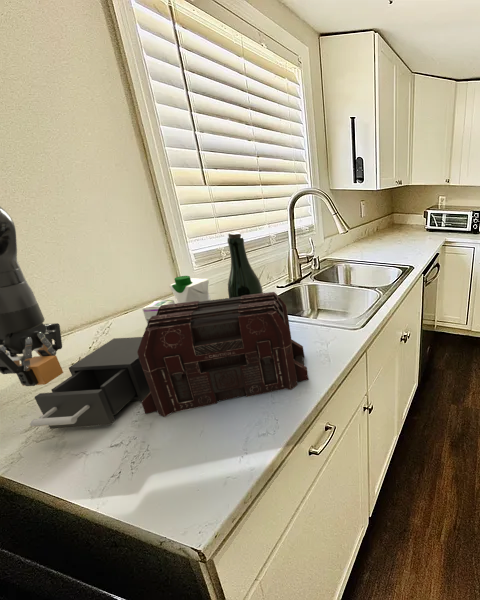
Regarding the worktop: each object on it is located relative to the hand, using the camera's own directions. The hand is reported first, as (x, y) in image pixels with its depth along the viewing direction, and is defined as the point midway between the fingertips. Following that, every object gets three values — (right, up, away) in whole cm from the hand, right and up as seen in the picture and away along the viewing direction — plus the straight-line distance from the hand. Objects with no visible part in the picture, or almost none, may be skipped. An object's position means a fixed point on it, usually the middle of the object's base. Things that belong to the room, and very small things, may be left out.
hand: (42, 377), depth 71 cm
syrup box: (+8, +2, +28) cm, 30 cm away
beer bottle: (+30, +6, +37) cm, 47 cm away
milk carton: (+12, +6, +37) cm, 40 cm away
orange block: (0, 0, 0) cm, 0 cm away
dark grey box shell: (+11, -4, +11) cm, 16 cm away
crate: (+36, -4, +12) cm, 38 cm away
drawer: (+12, -8, -1) cm, 14 cm away
